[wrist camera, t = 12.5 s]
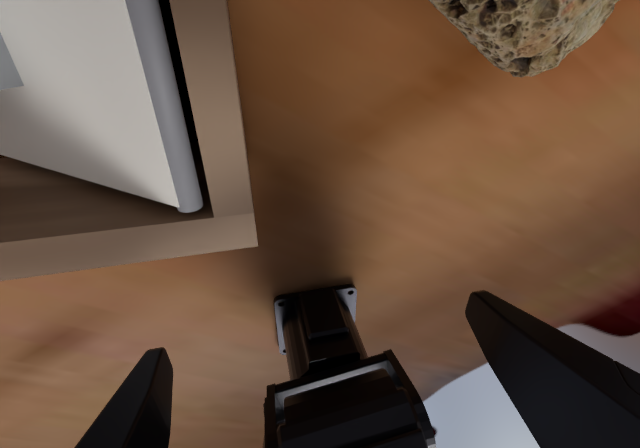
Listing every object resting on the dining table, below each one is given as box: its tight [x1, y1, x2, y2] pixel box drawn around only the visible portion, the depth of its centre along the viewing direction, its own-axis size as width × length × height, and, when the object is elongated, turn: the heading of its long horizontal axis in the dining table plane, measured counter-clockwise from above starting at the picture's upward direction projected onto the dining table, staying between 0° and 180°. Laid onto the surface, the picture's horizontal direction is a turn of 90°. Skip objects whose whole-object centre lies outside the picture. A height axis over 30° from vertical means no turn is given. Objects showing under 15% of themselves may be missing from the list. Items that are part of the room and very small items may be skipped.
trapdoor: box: [0, 0, 203, 213], centre depth 11 cm, size 12×12×1 cm
